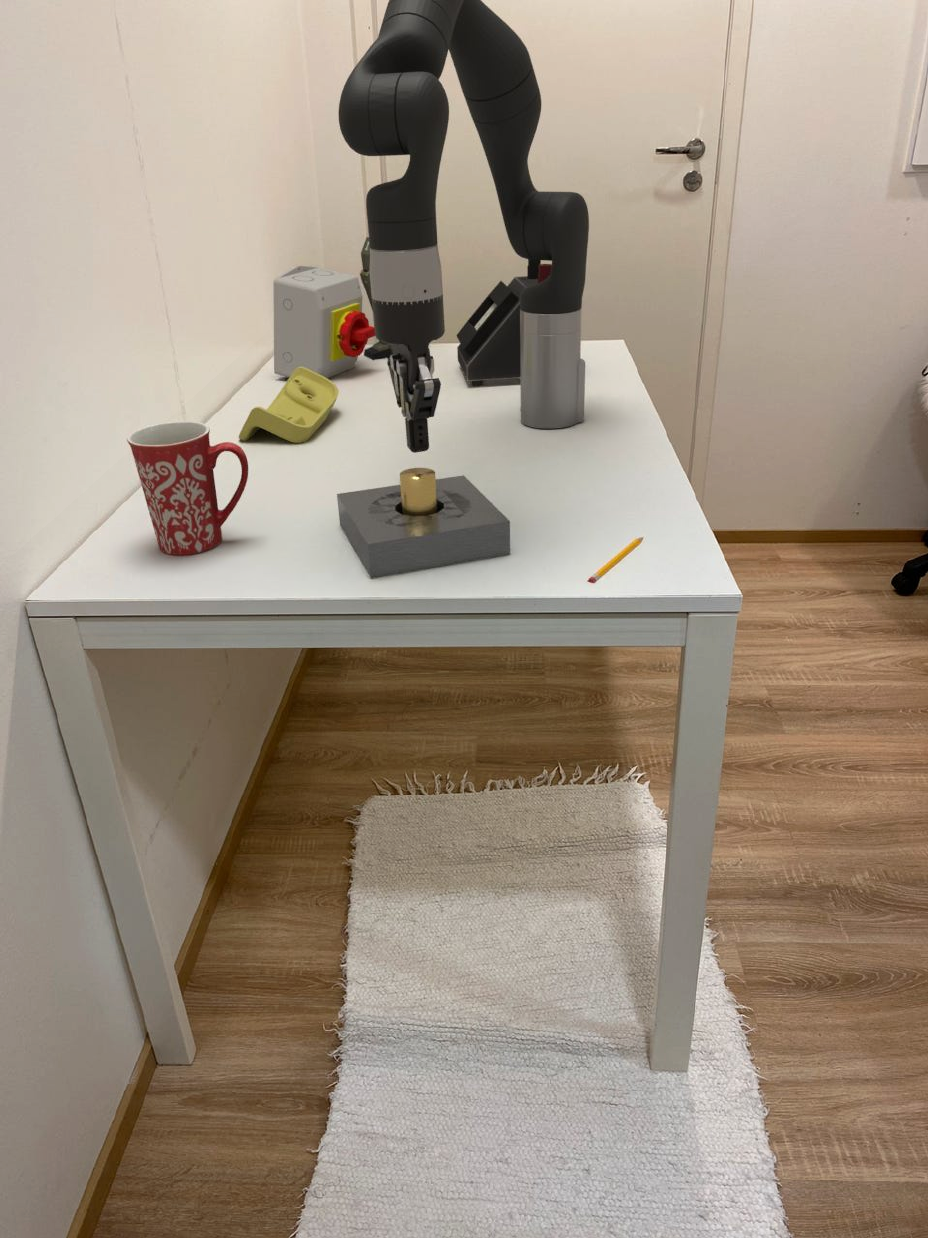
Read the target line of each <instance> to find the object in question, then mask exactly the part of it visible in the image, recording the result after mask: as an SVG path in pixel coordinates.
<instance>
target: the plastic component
mask: <svg viewBox="0 0 928 1238" xmlns="http://www.w3.org/2000/svg"><path fill="white" fill-rule="evenodd" d="M339 391H340V390H339V389H338V387H337V385H336V384H335V383H334V382H332V381H331V380H330V378H328V379H327V378H325V377H324V376H322V375H320V374H318V373H316V372H313V371H311V370H309V369H307V368H305V367H298V368H296V369H295V370H294V371H293V373H292V374H291V376H290V377H288V379H287V381H286V382H285V384H284V385H283V386H282V388H281V390H280V391H279V392H278V394H277V395H276V397H275V398H274V399H273V400H272V402H271V403H270V405H269V406H268V407H267V408H264V407H262V406H255V407H253V408H252V409H251V410H250V412H249V414H248V417H247V419H246V420H245V422H244V424H243V426H242V428H241V430H240V432H239V434H238V439H239V440H242V441H248V440H249V439H250V438H251V437H252V436H253V435H254V434H255V433H256V432H257V431H258V430H259V429H260V428H261V429H263V430H265V431H267V432H270V433H271V434H273V435H275V436H278V437H279V438H281V439H284V440H286V441H288V442H291V443H295V444H302V443H301V442H303V443H305V442H304V441H306V442H307V441H308V440H309V439H311V437H313V435H314V434H315V433H316V432H317V430H318V429H319V428H320V427H321V426H322V424H323V423H324V422H325V421H326V420H327V418H328V415H329V413H330V411H331V410H332V408H333V407H334V405H335V403H336V401H337V399H338V396H339V393H340V392H339Z"/></svg>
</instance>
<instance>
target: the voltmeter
mask: <svg viewBox="0 0 928 1238" xmlns="http://www.w3.org/2000/svg"><path fill="white" fill-rule="evenodd" d="M541 262H542V260H530V259H527V268H526V269H527V274H526V276H525V275H524V276H514V277H513V279H512V280H511V281H510V282H509V283H508V285H506V284H505V282H504V281H502V280H500V281H499V282H498V283H497V285H496V286H495V287H494V288H493V289H492V290H491V292H490V293H488V294H487V297H485V299H484V300H483V301H482V302H481V303H480V305H479V306H478V307H477V309H476V310H475V311H474V312H473V314H471V316H470V317H469V318H468V319H467V321H466V322H465V323H464V325H463V326H462V327H461V329H460V330H459V331H458V332H457V334H456V338H457V339H458V341H459V342H458V343H459V345H458V346H456V350H457V352H456V353H457V361H458V364H459V366H460V368H461V371H462V372H463V373H462V374H463V375H464V378H465V380H466V381H467V382H471V386H473V387H481V386H482V387H483V385H484V381H488V380H507V379H520V294H521V292H522V290H523V289H524V288H526V287H528V286H531V285H534V284H537V283H540V282H542V281H544V280H545V279H546V278H548V277H549V275H550V272H551V266H552V263H541Z"/></svg>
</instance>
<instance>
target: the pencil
mask: <svg viewBox="0 0 928 1238" xmlns="http://www.w3.org/2000/svg"><path fill="white" fill-rule="evenodd" d="M643 539H644V536H641V537H638V538H635V539H634V540H633V541H632V542H631V543H629V544H628V545H627V546H626V547H625V548H623V549H622V550H621V551H619V552H618V553H617V554H616V555H615V556H613V558H611V559H610V560H609V561H608V562H607V563H605V564H603V566H602V567H601V568H600V569H599V570H597V571H596V572H595V573H594V574H592V575H591V576H590V577H589V578H588V580H587V582H588V583H591V584H595V583H596V582H597V581H598V580H599V579H600V578H602V577H603V576H604V575H605V574H606V573H607V572H609V571H610V570H611V569H612V568H614V566H616V565H617V564H618V563H619V562H620V561H621V560H623V559H624V558H625V557H626V556H627V555H628V554H629V553H631V552H632V551H633V550H634V549H635V548H637V547H638V546H639V545H640V544H641V542H642V541H643Z"/></svg>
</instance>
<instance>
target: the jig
mask: <svg viewBox="0 0 928 1238" xmlns="http://www.w3.org/2000/svg"><path fill="white" fill-rule="evenodd" d="M336 497H337V498H336V499H337V507H338V508H337V509H338V516H339V517H338V518H339V525H340V527H341V529H342V530H343V533H344V534H345V536H346V538H347V539H348V542H349V543H350V545H351V546H352V548H353V550H354V552H355V553H356V555H357V557H358V558H359V560H360V562H361V564H362V565H363V567H364V569H365V570H366V573H367V574H368V576H369V577H370V579H375V578H380V577H381V578H382V577H386V576H393V575H398V574H403V573H410V572H416V571H420V570H426V569H427V570H428V569H433V568H434V569H435V568H439V567H443V566H444V567H445V566H450V565H456V564H461V563H467V562H468V563H469V562H473V561H478V560H485V559H490V558H491V559H492V558H496V557H497V558H498V557H503V556H508V555H511V520H510V519H509V518H507V517H506V516H505V515H504V514H503V512H502V511H500V510H499V509H498V508H497V507H496V506H495V505H494V504H493V502H491V501H490V500H489V499H488V498H487V497H486V496H485V495H484V494H483V493H482V492H481V491H480V490H479V489H478V488H477V487H476V486H475V485H474V484H473V483H472V482H471V481H470V480H469V479H468V478H467V477H466V476H465V475H456V476H452V477H451V476H450V477H444V478H437V479H436V497H437V513H435V514H431V515H428V516H407V515H403V514H402V499H401V485H400V484H396V485H387V486H383V487H382V486H381V487H377V488H376V487H375V488H370V489H361V490H355V491H347V492H341V493H340V492H339V493H336Z"/></svg>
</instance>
